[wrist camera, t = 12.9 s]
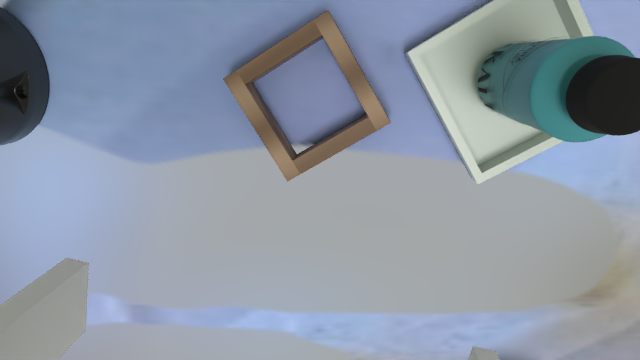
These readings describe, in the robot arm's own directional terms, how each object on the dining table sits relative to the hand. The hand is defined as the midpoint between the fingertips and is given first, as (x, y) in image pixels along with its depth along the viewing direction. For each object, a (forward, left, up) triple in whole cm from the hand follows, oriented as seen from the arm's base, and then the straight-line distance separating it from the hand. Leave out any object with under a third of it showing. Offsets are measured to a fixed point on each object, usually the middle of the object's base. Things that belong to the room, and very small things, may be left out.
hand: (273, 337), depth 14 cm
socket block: (-6, +1, -31) cm, 32 cm away
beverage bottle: (+2, +17, -31) cm, 35 cm away
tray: (+2, +18, -31) cm, 36 cm away
